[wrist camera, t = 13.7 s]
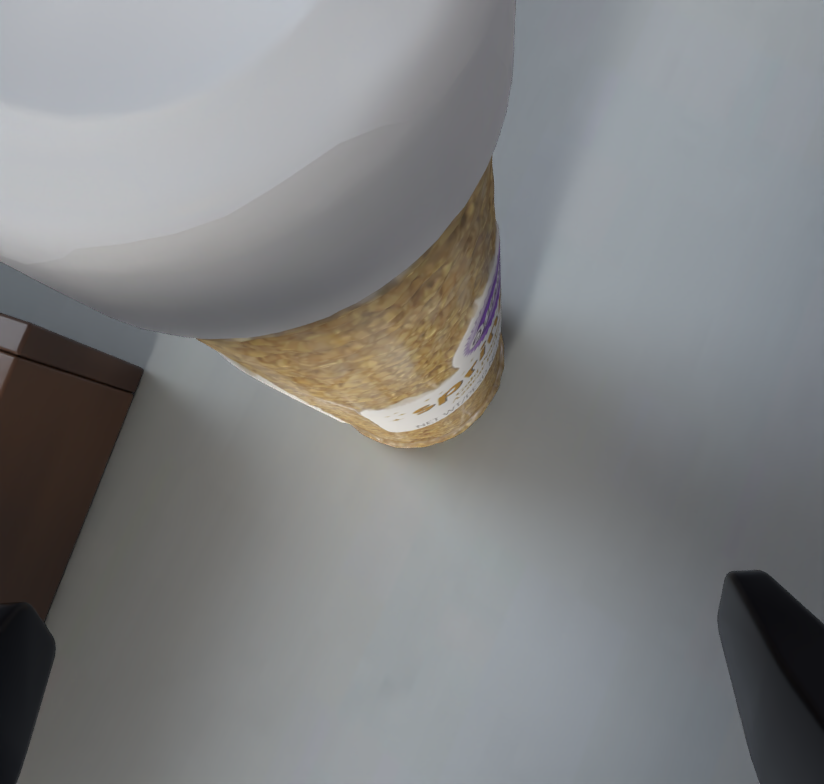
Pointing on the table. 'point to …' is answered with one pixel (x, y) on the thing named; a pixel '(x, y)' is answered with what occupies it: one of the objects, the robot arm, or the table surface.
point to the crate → (51, 450)
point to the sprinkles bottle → (273, 188)
